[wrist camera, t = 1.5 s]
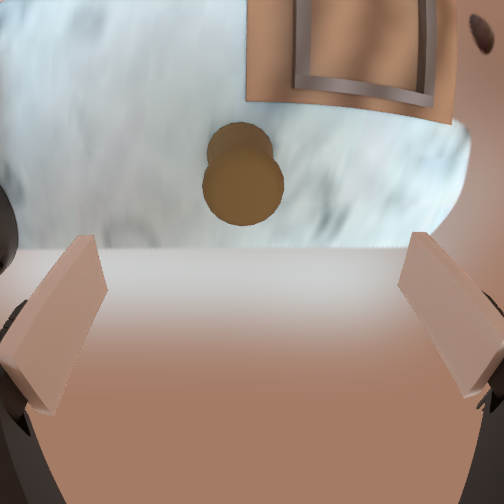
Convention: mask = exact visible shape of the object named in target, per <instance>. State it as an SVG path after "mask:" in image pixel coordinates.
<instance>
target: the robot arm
mask: <svg viewBox="0 0 504 504" xmlns="http://www.w3.org/2000/svg"><path fill="white" fill-rule="evenodd" d="M16 250H17V227H16V222H15V218H14V215H13V211H12V209H11V206H10V204H9V201H8V199H7V197H6V195H5V194H4V192H3V190H2V189H1V187H0V275H1V274H2V273H3V272H4V271H5V269H6V268H7V267H8V266H9V265H10V264H11V262H12V261H13V259H14V257H15V254H16ZM398 287H399V288H400V290H401V291H402V293H403V294H404V296H405V297H406V299H407V301H408V302H409V304H410V305H411V307H412V308H413V310H414V312H415V313H416V315H417V316H418V318H419V320H420V321H421V323H422V325H423V326H424V328H425V330H426V331H427V333H428V334H429V336H430V338H431V340H432V341H433V343H434V345H435V346H436V348H437V350H438V352H439V353H440V355H441V357H442V359H443V360H444V362H445V364H446V366H447V367H448V369H449V371H450V373H451V375H452V376H453V378H454V380H455V382H456V384H457V386H458V388H459V390H460V392H461V394H462V396H463V397H464V398H467V397H470V396H472V395H476V394H478V393H480V391H481V390H482V389H483V387H484V386H485V384H486V383H487V382H488V383H489V385H490V387H491V388H490V390H489V391H488V392H487V394H486V395H485V396H484V397H483V399H482V400H481V401H480V402H479V404H478V406H477V409H479V408H480V407H481V406H482V404H483V403H485V407H484V408H483V409H482V411H484V413H483V418H482V423H481V428H480V432H479V437H478V441H477V445H476V449H475V453H474V457H473V460H472V464H471V467H470V471H469V474H468V477H467V481H466V483H465V486H464V489H463V492H462V495H461V498H460V501H459V503H458V504H504V314H503V312H502V310H501V309H500V308H498V306H497V304H496V303H495V302H494V301H493V300H492V298H491V297H490V296H488V295H487V294H486V293H484V292H483V291H482V290H480V289H479V287H478V286H477V285H476V284H475V283H474V282H473V281H472V280H471V279H470V278H469V276H468V275H467V274H466V273H465V272H464V271H463V270H462V269H461V268H460V267H459V265H458V264H457V263H456V262H455V261H454V260H453V259H452V258H451V257H450V256H449V255H448V254H447V253H446V252H445V251H444V250H443V249H442V248H441V247H440V245H438V243H437V242H436V241H435V240H434V239H432V238H431V236H429V235H428V234H427V233H426V232H412V235H411V239H410V243H409V247H408V251H407V254H406V258H405V262H404V265H403V269H402V272H401V275H400V279H399V282H398ZM107 291H108V289H107V286H106V283H105V279H104V275H103V271H102V267H101V264H100V260H99V256H98V251H97V247H96V243H95V239H94V235H80V236H77V237H76V238H75V240H74V241H73V242H72V243H71V245H70V246H69V247H68V248H67V249H66V251H65V252H64V253H63V254H62V256H61V257H60V258H59V259H58V261H57V262H56V263H55V265H54V266H53V267H52V269H51V270H50V271H49V272H48V274H47V275H46V277H45V278H44V279H43V280H42V282H41V283H40V285H39V286H38V287H37V289H36V290H35V292H34V293H33V294H32V296H31V297H30V298H29V300H25V301H24V302H22V303H21V304H20V305H19V306H17V307H16V308H15V310H14V311H13V312H12V314H11V315H10V317H9V318H8V319H9V320H7V321H6V323H5V324H4V326H3V329H1V330H0V504H66V502H65V500H64V498H63V496H62V494H61V492H60V490H59V488H58V486H57V484H56V482H55V480H54V478H53V476H52V474H51V471H50V470H49V467H48V465H47V462H46V460H45V458H44V456H43V453H42V450H41V448H40V446H39V443H38V440H37V438H36V435H35V432H34V430H33V427H32V424H31V421H30V418H29V416H28V414H27V412H26V410H25V407H26V404H27V402H28V403H29V404H30V405H31V407H32V408H33V409H34V410H35V411H36V412H38V413H42V414H45V415H50V416H55V413H56V411H57V408H58V405H59V402H60V400H61V397H62V394H63V392H64V389H65V386H66V384H67V381H68V379H69V376H70V374H71V371H72V369H73V366H74V364H75V361H76V359H77V357H78V354H79V352H80V349H81V347H82V345H83V343H84V340H85V338H86V336H87V334H88V331H89V329H90V327H91V325H92V323H93V320H94V318H95V316H96V314H97V312H98V310H99V308H100V305H101V303H102V301H103V299H104V297H105V295H106V293H107Z"/></svg>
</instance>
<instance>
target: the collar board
mask: <svg viewBox="0 0 504 504" xmlns="http://www.w3.org/2000/svg"><path fill="white" fill-rule="evenodd" d="M456 65H457V11H456V0H247V65H246V101H265V102H292V103H308V104H321V105H332V106H342V107H351V108H359V109H367V110H374V111H381V112H388V113H394V114H400V115H405V116H411V117H416V118H421V119H426V120H431V121H435V122H440V123H444V124H449V125H452V117H453V107H454V97H455V85H456Z"/></svg>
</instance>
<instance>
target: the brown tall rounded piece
mask: <svg viewBox="0 0 504 504" xmlns="http://www.w3.org/2000/svg"><path fill="white" fill-rule="evenodd" d="M207 158H208V164H209V166H208V167H207V169H206V171H205V174H204V179H203V184H202V188H203V194H204V199H205V201H206V202H207V204H208V206H209V208H210V210H211V211H212V212H213V213H214V214H215V215H216V216H217V217H218V218H219V219H221V220H223V221H225V222H227V223H229V224H232V225H238V226H248V225H254V224H257V223H259V222H262V221H264V220H266V219H267V218H268V217H269V216H271V215H272V214H273V213H274V212H275V210H276V209H277V207H278V206H279V204H280V202H281V199H282V195H283V192H284V177H283V175H282V172H281V170H280V168H279V165H278V164H277V163H276V161H275V160H274V159H273V149H272V144H271V142H270V140H269V137H268V136H267V135H266V134H265V133H264V132H263V130H262V129H260V128H258V127H257V126H255V125H253V124H249V123H244V122H238V123H231V124H228V125H226V126H224V127H222V128H220V129H219V130H218V131H217V132H216V133H215V134H214V135H213V137H212V138H211V140H210V142H209V145H208V150H207Z"/></svg>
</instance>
